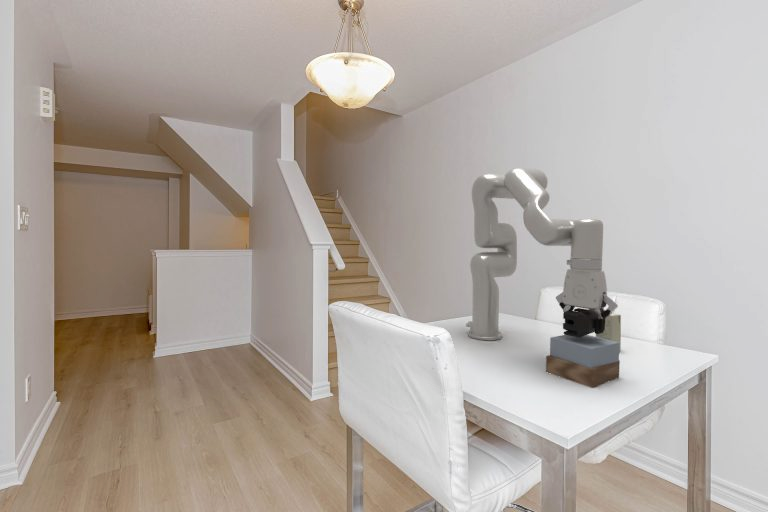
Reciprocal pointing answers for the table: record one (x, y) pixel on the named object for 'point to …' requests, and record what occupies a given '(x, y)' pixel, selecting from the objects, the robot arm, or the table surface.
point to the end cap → (579, 322)
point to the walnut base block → (582, 371)
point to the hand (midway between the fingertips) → (583, 329)
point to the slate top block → (585, 350)
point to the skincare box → (612, 329)
